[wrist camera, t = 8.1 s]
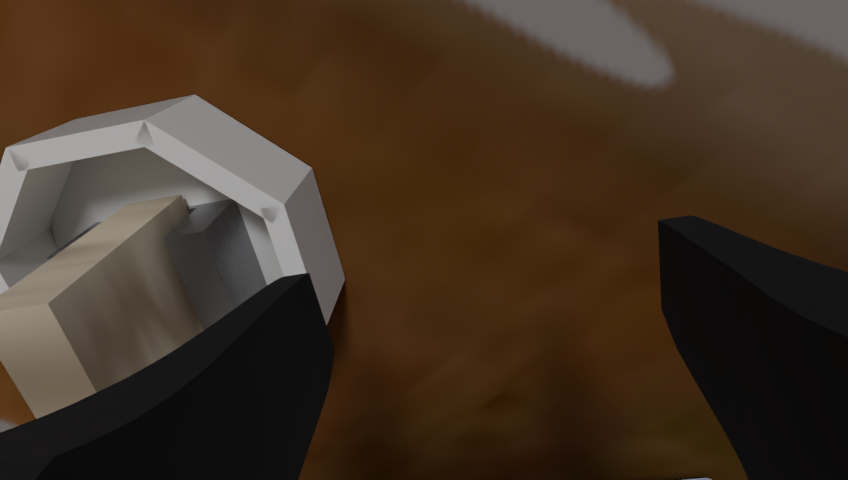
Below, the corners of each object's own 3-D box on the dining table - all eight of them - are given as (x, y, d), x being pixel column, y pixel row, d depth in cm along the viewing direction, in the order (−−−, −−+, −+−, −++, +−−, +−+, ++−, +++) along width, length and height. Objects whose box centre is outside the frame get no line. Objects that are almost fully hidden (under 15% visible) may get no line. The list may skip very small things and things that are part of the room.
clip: (269, 290, 23) (243, 332, 21) (137, 309, 24) (97, 352, 22) (235, 198, 22) (203, 231, 19) (95, 222, 23) (46, 257, 20)
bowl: (365, 347, 25) (349, 404, 22) (123, 378, 27) (75, 435, 24) (284, 76, 20) (248, 98, 17) (-4, 135, 22) (-86, 165, 19)
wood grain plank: (227, 309, 23) (128, 450, 17) (177, 316, 24) (60, 457, 17) (181, 194, 21) (47, 303, 15) (127, 204, 22) (-28, 314, 15)
